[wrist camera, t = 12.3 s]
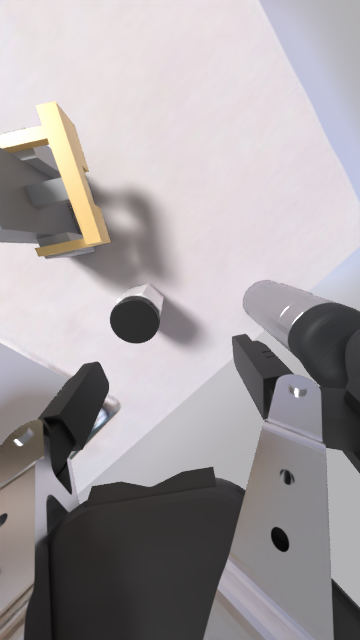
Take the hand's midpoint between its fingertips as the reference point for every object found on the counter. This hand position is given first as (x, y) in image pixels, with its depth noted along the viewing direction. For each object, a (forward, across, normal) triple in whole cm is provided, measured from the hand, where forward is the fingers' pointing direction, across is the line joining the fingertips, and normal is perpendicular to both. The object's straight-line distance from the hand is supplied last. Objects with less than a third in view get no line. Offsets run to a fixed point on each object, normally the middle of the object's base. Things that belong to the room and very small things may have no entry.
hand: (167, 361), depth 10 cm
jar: (+30, +7, +4) cm, 31 cm away
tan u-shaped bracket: (+22, +13, -16) cm, 30 cm away
